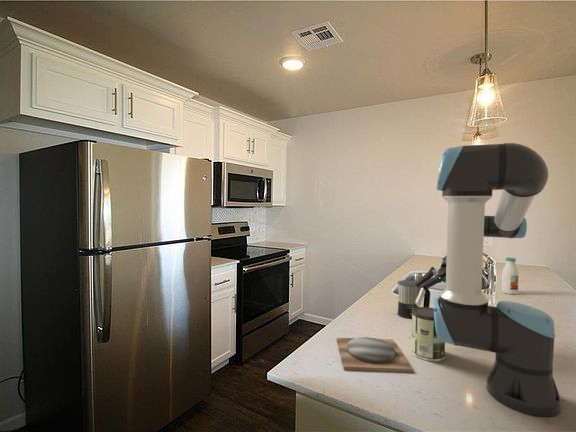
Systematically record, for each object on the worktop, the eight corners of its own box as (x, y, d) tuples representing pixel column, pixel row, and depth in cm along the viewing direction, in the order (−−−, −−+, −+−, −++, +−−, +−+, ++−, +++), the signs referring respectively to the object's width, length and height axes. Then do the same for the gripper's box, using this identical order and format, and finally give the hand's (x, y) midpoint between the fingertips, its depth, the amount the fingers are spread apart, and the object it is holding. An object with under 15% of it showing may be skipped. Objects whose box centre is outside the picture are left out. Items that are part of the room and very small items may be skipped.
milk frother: (405, 320, 133) (406, 285, 132) (384, 308, 148) (385, 277, 147) (433, 317, 136) (434, 283, 136) (410, 305, 151) (411, 275, 151)
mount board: (412, 372, 91) (412, 364, 91) (343, 369, 92) (343, 361, 92) (392, 342, 111) (393, 335, 111) (336, 340, 112) (336, 333, 112)
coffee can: (440, 348, 106) (441, 307, 106) (449, 363, 96) (450, 318, 96) (408, 345, 108) (409, 305, 108) (414, 359, 98) (415, 315, 98)
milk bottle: (504, 294, 174) (505, 258, 173) (499, 290, 181) (500, 256, 180) (520, 295, 171) (521, 259, 171) (514, 291, 179) (515, 257, 178)
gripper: (495, 273, 109) (479, 325, 100) (424, 262, 128) (405, 306, 118) (491, 259, 105) (474, 313, 96) (419, 251, 124) (399, 295, 114)
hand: (436, 309), depth 107 cm, fingers open, 13 cm apart
